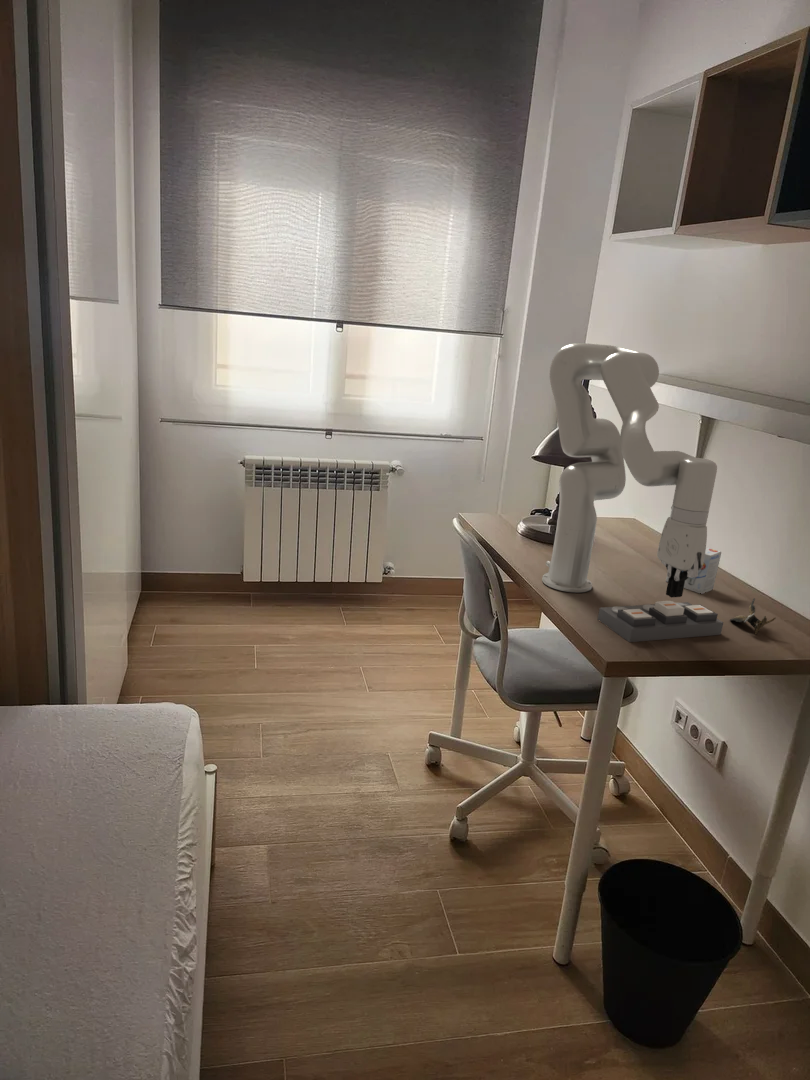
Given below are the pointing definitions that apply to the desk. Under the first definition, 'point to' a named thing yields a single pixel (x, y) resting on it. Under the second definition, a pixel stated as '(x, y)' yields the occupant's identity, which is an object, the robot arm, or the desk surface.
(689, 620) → the button panel
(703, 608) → the right button
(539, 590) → the desk surface
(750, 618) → the eagle figurine
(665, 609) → the middle button
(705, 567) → the light bulb box
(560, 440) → the robot arm
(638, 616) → the left button
